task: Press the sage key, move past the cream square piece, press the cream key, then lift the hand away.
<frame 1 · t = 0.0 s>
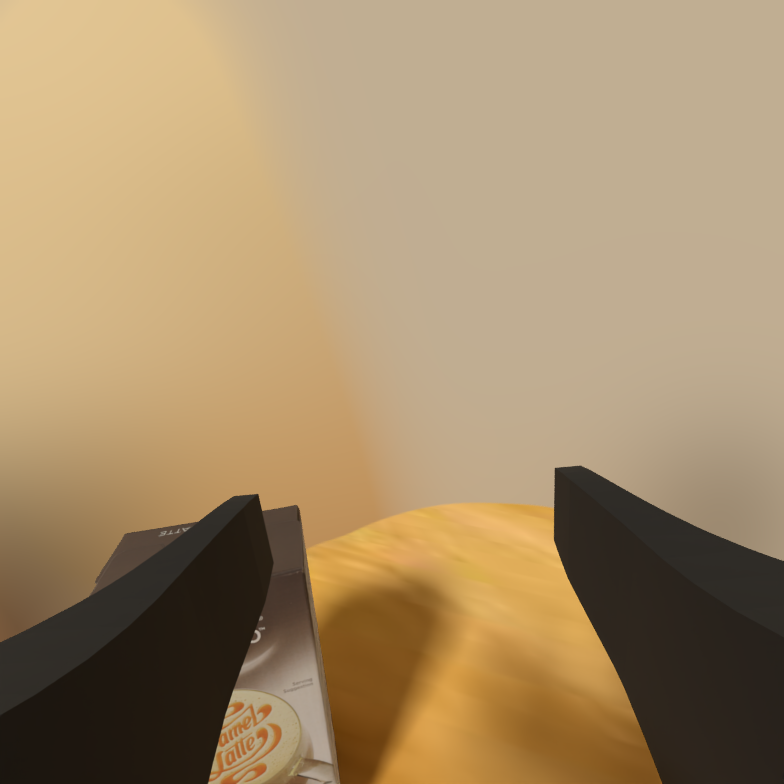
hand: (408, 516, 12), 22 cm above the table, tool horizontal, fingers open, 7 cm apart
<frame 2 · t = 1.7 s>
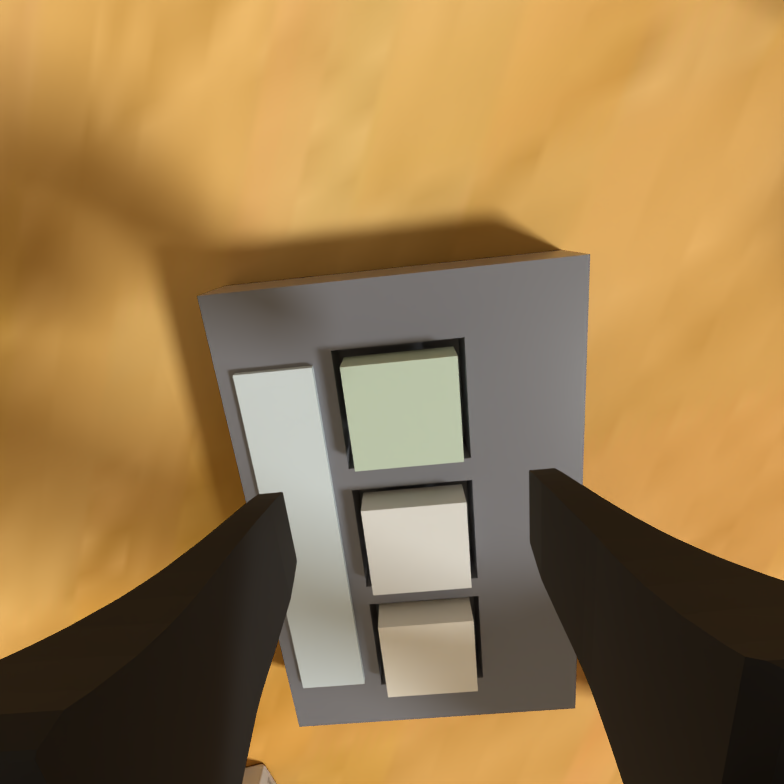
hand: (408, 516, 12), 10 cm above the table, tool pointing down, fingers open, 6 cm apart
cream key: (428, 647, 22), point 3 cm above the table, slide at 0.0 cm
sage key: (403, 409, 18), point 3 cm above the table, slide at 0.0 cm
cream square piece: (417, 540, 20), point 3 cm above the table, slide at 0.0 cm
keypad: (414, 497, 23), on the table
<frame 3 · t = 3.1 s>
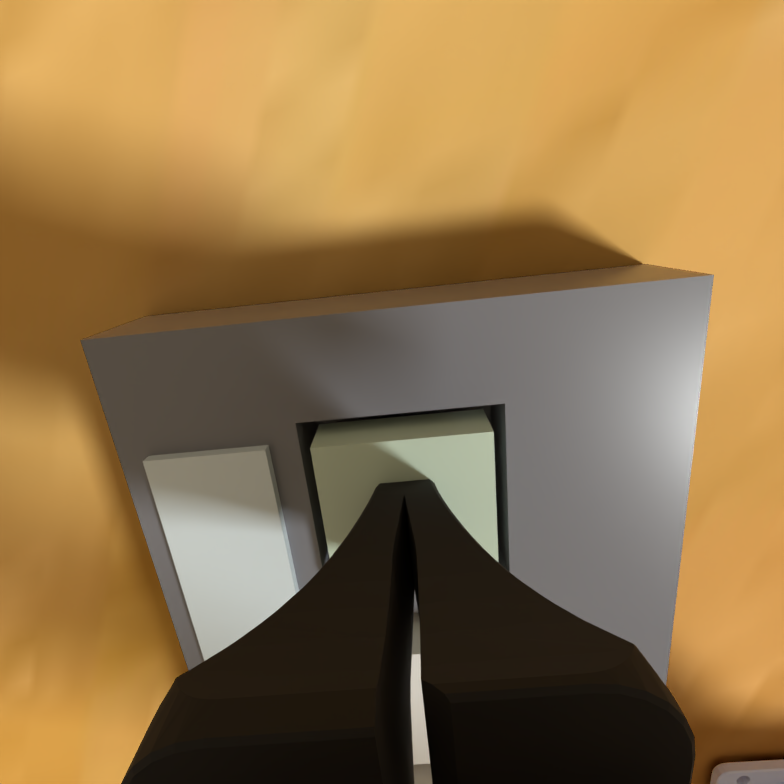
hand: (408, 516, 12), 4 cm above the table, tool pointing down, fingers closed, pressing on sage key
sage key: (408, 502, 12), point 3 cm above the table, slide at 0.4 cm, touching gripper
cream square piece: (428, 688, 14), point 3 cm above the table, slide at 0.0 cm
keypad: (422, 602, 17), on the table
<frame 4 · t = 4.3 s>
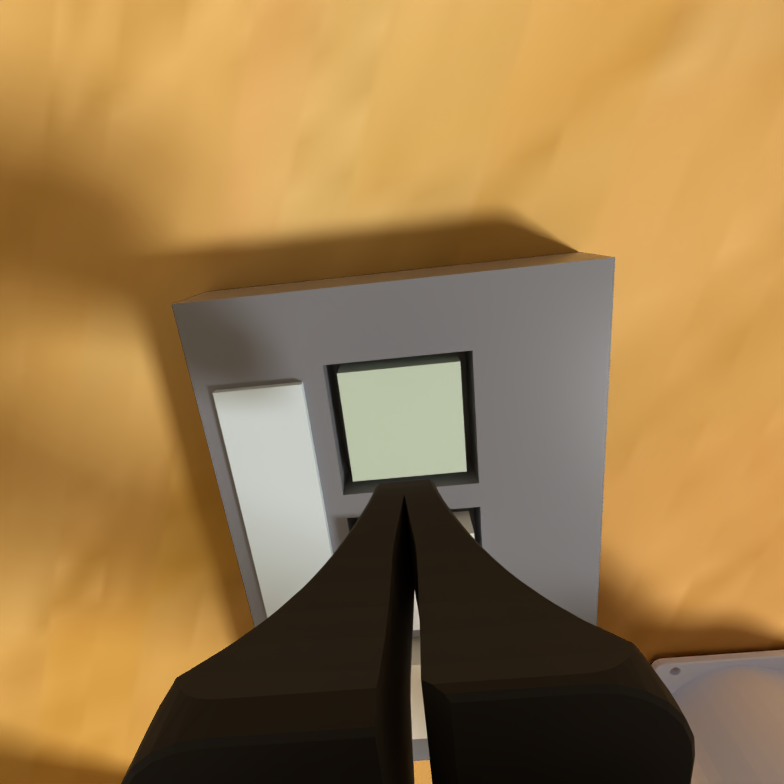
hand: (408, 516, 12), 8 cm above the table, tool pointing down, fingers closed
cream key: (431, 686, 20), point 3 cm above the table, slide at 0.0 cm
sage key: (403, 416, 17), point 2 cm above the table, slide at 1.2 cm
cream square piece: (419, 572, 18), point 3 cm above the table, slide at 0.0 cm
keypad: (415, 521, 21), on the table
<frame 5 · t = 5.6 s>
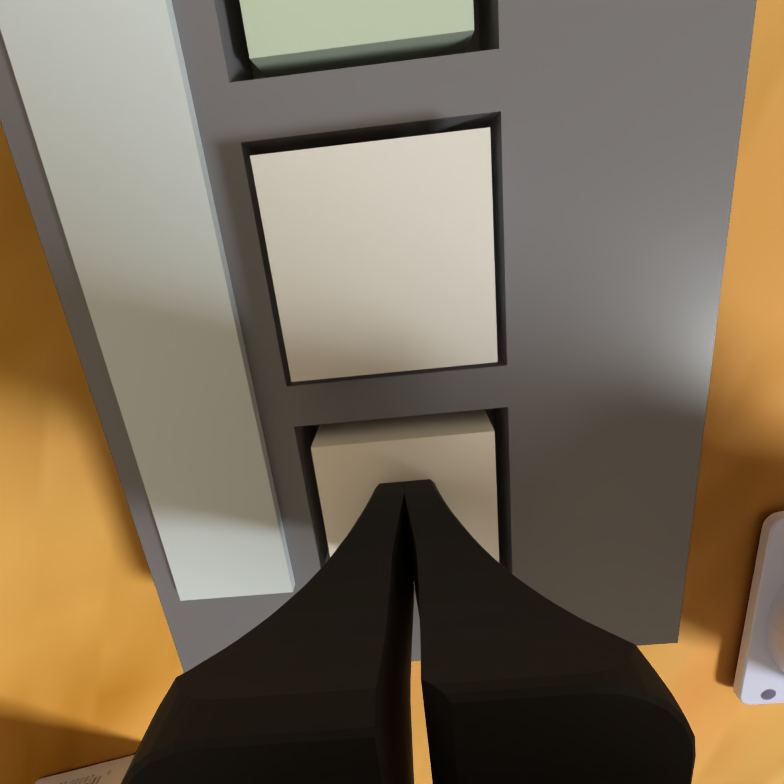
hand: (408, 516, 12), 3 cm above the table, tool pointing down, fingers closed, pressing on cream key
cream key: (409, 502, 12), point 3 cm above the table, slide at 0.6 cm, touching gripper
cream square piece: (383, 262, 10), point 3 cm above the table, slide at 0.0 cm
keypad: (386, 253, 13), on the table
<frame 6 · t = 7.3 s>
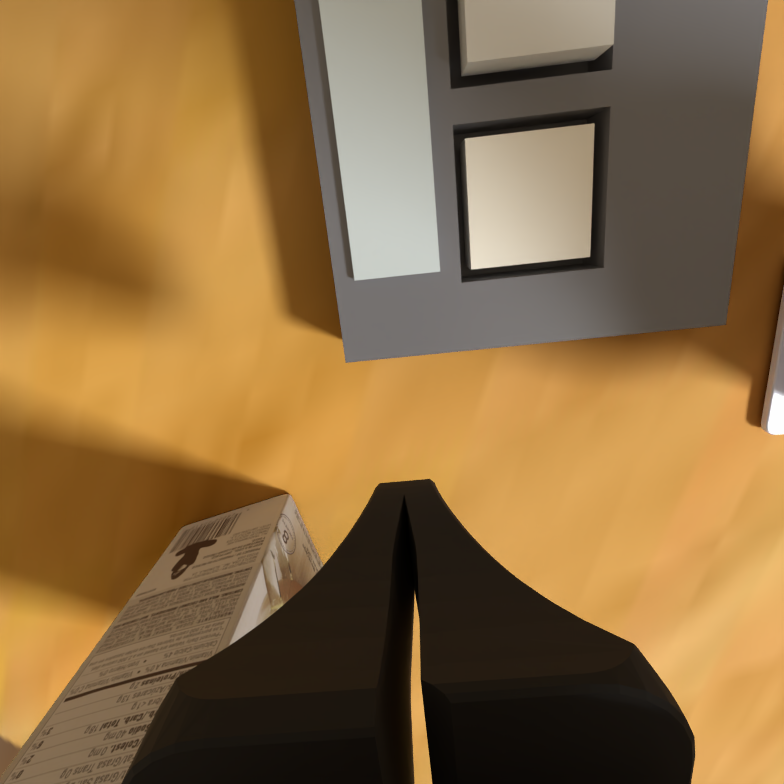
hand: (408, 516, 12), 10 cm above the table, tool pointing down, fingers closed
cream key: (524, 200, 17), point 2 cm above the table, slide at 1.2 cm
coffee box: (270, 574, 25), on the table
keypad: (507, 22, 17), on the table
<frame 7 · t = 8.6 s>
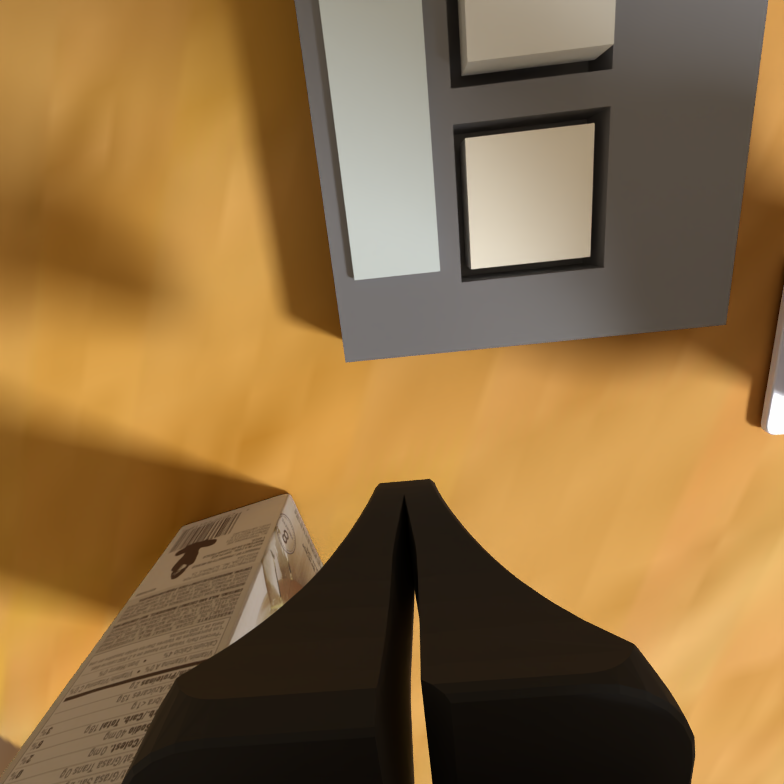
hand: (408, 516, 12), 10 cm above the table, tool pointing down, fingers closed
cream key: (524, 200, 17), point 2 cm above the table, slide at 1.2 cm
coffee box: (270, 573, 25), on the table
keypad: (507, 21, 17), on the table
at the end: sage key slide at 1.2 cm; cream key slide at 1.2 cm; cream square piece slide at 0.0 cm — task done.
